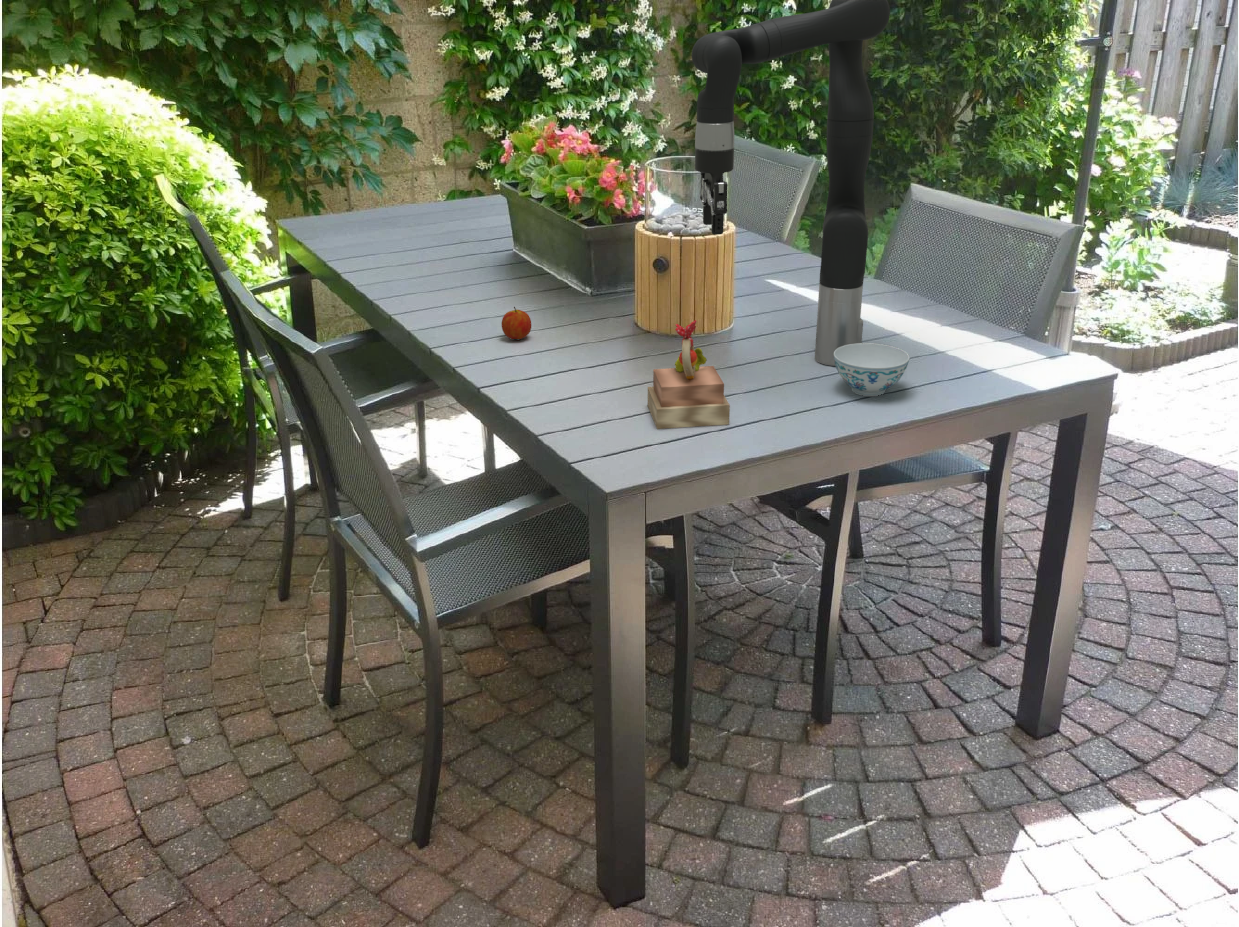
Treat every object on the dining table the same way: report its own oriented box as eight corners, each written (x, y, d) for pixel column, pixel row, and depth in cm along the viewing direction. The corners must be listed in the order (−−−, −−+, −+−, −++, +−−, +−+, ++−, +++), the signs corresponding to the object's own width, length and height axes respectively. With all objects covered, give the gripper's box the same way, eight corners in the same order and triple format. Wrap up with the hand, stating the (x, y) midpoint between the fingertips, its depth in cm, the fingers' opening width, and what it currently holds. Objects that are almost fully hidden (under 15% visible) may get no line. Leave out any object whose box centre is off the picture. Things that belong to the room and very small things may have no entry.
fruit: (520, 332, 266) (519, 300, 262) (537, 339, 261) (536, 306, 257) (496, 338, 262) (494, 305, 258) (513, 345, 257) (511, 312, 253)
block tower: (716, 401, 224) (717, 363, 220) (729, 424, 213) (730, 385, 210) (647, 405, 222) (647, 367, 219) (657, 428, 212) (657, 389, 208)
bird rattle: (706, 389, 214) (706, 357, 220) (706, 346, 205) (707, 314, 211) (673, 389, 214) (675, 356, 220) (672, 346, 206) (674, 314, 212)
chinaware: (879, 373, 237) (882, 339, 234) (920, 397, 224) (924, 361, 221) (817, 383, 232) (820, 348, 229) (856, 408, 220) (859, 371, 216)
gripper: (742, 150, 208) (739, 236, 215) (725, 139, 221) (723, 220, 228) (702, 152, 207) (701, 238, 214) (688, 140, 220) (687, 222, 227)
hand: (712, 229), depth 221 cm, fingers open, 8 cm apart
